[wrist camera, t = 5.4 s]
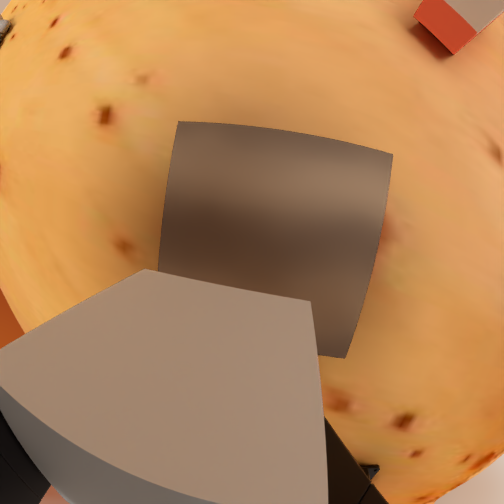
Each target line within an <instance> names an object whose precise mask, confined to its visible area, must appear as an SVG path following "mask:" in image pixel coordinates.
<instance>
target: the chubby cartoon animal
mask: <svg viewBox="0 0 504 504" xmlns="http://www.w3.org/2000/svg"><path fill="white" fill-rule="evenodd" d="M10 25H11V23H10V21H8V20H3V17H2V16H1V15H0V41H1V39H2V38H1V36H2V35H3V34H5V33H6V32H7V30H8V29H9V27H10Z"/></svg>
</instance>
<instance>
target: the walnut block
mask: <svg viewBox="0 0 504 504" xmlns="http://www.w3.org/2000/svg"><path fill="white" fill-rule="evenodd" d="M392 160H393V154H390V153H387V152H383V151H379V150H376V149H372V148H368V147H364V146H360V145H356V144H352V143H348V142H343V141H339V140H334V139H329V138H324V137H319V136H314V135H309V134H303V133H297V132H291V131H284V130H278V129H270V128H262V127H254V126H245V125H234V124H222V123H206V122H181V121H178V125H177V130H176V135H175V141H174V146H173V151H172V157H171V163H170V169H169V175H168V182H167V189H166V196H165V204H164V212H163V220H162V230H161V240H160V251H159V263H158V272H162V273H167V274H171V275H176V276H180V277H185V278H190V279H194V280H199V281H204V282H209V283H214V284H219V285H224V286H229V287H234V288H239V289H244V290H249V291H255V292H260V293H266V294H271V295H277V296H282V297H288V298H294V299H300V300H306V301H311V308H312V315H313V322H314V330H315V338H316V346H317V354H318V355H323V356H330V357H337V358H345V357H346V355H347V352H348V349H349V346H350V343H351V341H352V338H353V335H354V332H355V329H356V326H357V323H358V319H359V316H360V313H361V310H362V306H363V303H364V299H365V296H366V292H367V289H368V285H369V281H370V278H371V274H372V270H373V266H374V262H375V257H376V253H377V249H378V244H379V240H380V235H381V230H382V225H383V220H384V214H385V209H386V203H387V197H388V190H389V183H390V176H391V168H392Z"/></svg>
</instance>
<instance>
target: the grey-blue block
mask: <svg viewBox="0 0 504 504" xmlns="http://www.w3.org/2000/svg"><path fill="white" fill-rule="evenodd" d="M0 411H1V412H2V414H3V416H4V418H5V420H6V421H7V423H8V425H9V426H10V428H11V430H12V431H13V433H14V435H15V436H16V438H17V439H18V441H19V442H20V444H21V445H22V447H23V448H24V450H25V451H26V453H27V454H28V455H29V457H30V458H31V460H32V461H33V462H34V464H35V465H36V466H37V467H38V469H39V470H40V471H41V473H42V474H43V475H44V476H45V478H46V479H47V480H48V481H49V482H50V484H51V485H52V486H53V487H54V488H55V489H56V490H57V491H58V493H59V494H60V495H61V496H62V497H63V498H64V499H65V500H66V501H67V502H69V503H70V504H328V477H327V456H326V440H325V425H324V413H323V402H322V391H321V381H320V372H319V363H318V354H317V346H316V338H315V330H314V322H313V315H312V308H311V301H306V300H300V299H294V298H288V297H282V296H277V295H271V294H266V293H260V292H255V291H249V290H244V289H239V288H234V287H229V286H224V285H219V284H214V283H209V282H204V281H199V280H194V279H190V278H185V277H180V276H176V275H171V274H167V273H162V272H158V271H153V270H149V269H143V270H141V271H139V272H137V273H135V274H133V275H131V276H129V277H127V278H125V279H124V280H122V281H120V282H118V283H116V284H114V285H112V286H110V287H109V288H107V289H105V290H103V291H101V292H99V293H97V294H96V295H94V296H92V297H90V298H88V299H86V300H84V301H83V302H81V303H79V304H77V305H75V306H74V307H72V308H70V309H68V310H66V311H65V312H63V313H61V314H59V315H58V316H56V317H54V318H52V319H51V320H49V321H47V322H45V323H44V324H42V325H40V326H38V327H37V328H35V329H33V330H32V331H30V332H28V333H26V334H25V335H23V336H21V337H20V338H18V339H16V340H15V341H13V342H11V343H10V344H8V345H7V346H5V347H3V348H1V349H0Z"/></svg>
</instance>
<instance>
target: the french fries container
mask: <svg viewBox="0 0 504 504" xmlns="http://www.w3.org/2000/svg"><path fill="white" fill-rule="evenodd" d="M503 12H504V0H423V1H422V3H421V4H420V6H419V8H418V9H417V11H416V13H415V14H414V16H413V17H415V18H416V19H417V20H418V21H419V22H420V23H421V24H423V25H424V26H425V27H426V28H427V29H428V30H429V31H430V32H431V33H432V34H433V35H435V36H436V37H437V38H438V39H439V40H440V41H441V42H442V43H443V44H444V45H445V46H446V47H447V48H448V49H449V50H450V52H451V53H452V54H453V55H454V54H455V53H457V52H458V51H459V50H460V49H461V48H462V47H464V46H465V45H466V44H467V43H468V42H470V41H471V40H472V39H473V38H474V37H475V36H477V35H478V34H479V33H480V32H481V31H482V30H483V29H485V28H486V27H487V26H488V25H489V24H490V23H492V22H493V21H494V20H495V19H496V18H497V17H498V16H500V15H501V14H502V13H503Z"/></svg>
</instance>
